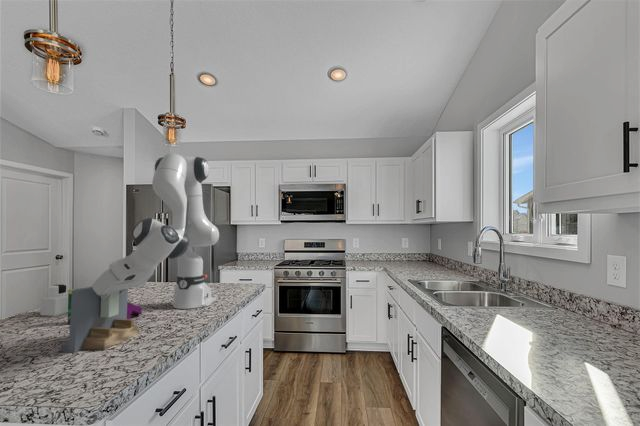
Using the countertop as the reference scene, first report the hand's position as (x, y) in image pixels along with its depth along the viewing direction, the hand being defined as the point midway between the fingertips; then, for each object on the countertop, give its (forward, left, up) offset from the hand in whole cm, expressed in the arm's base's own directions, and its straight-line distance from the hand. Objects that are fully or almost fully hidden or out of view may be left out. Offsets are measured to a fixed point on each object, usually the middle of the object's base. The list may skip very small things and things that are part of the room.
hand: (109, 295), depth 100 cm
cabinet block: (0, 0, -6) cm, 6 cm away
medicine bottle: (-24, -47, -15) cm, 55 cm away
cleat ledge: (0, +2, -14) cm, 15 cm away
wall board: (0, -4, -14) cm, 15 cm away
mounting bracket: (-21, -13, -15) cm, 28 cm away
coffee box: (-15, -26, -15) cm, 33 cm away
